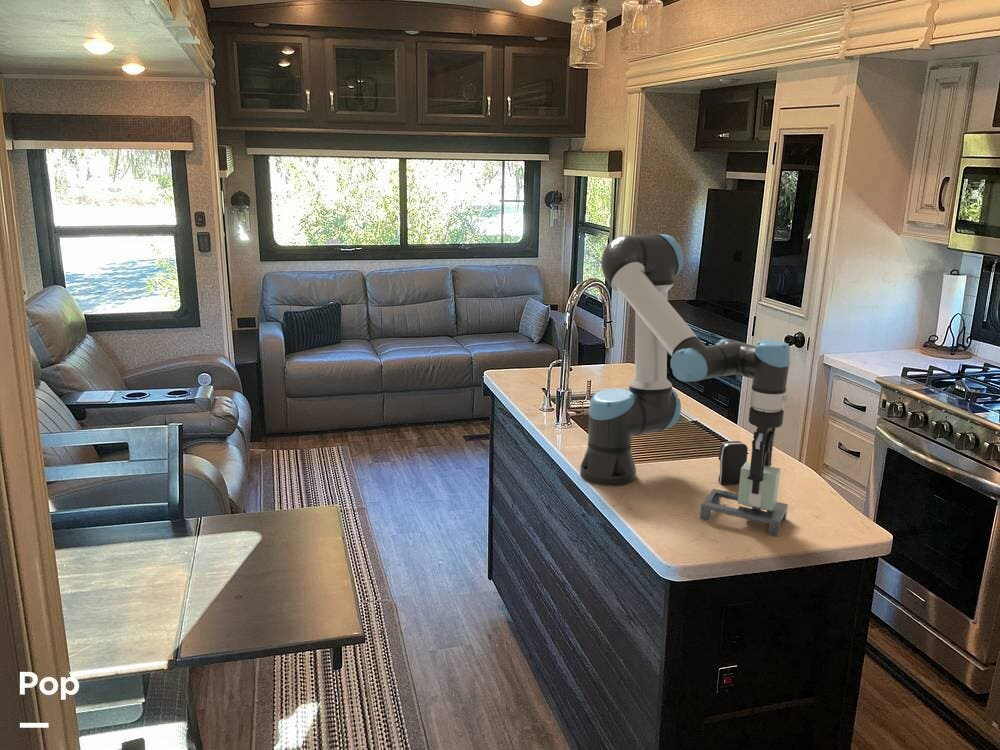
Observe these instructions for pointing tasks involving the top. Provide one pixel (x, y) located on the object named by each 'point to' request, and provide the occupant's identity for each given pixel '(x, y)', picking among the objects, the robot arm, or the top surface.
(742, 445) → the battery charger
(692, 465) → the top surface
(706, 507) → the keyhole plate
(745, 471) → the pale green boxy piece
